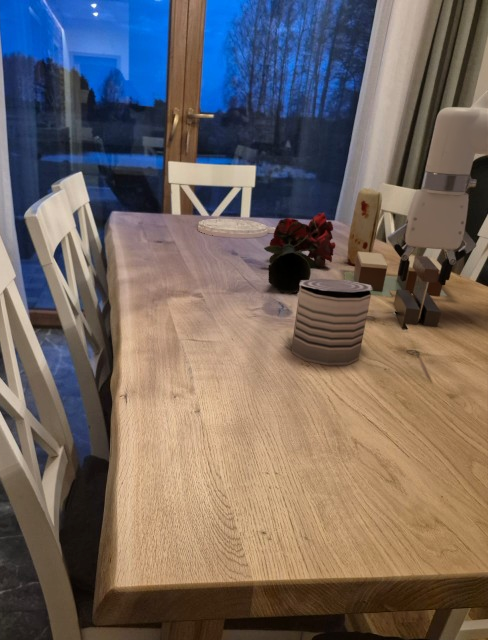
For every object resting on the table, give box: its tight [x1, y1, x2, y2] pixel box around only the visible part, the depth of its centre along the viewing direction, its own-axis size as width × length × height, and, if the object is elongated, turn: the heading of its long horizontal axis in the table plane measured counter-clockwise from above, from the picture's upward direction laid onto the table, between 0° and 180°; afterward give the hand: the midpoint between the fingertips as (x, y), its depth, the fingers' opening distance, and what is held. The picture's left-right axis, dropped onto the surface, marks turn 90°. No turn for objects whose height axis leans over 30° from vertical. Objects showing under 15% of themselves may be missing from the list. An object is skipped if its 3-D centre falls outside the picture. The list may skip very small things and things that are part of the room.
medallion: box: [197, 218, 276, 239], centre depth 194 cm, size 24×27×2 cm
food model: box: [347, 187, 383, 267], centre depth 151 cm, size 10×7×20 cm
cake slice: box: [353, 252, 389, 292], centre depth 135 cm, size 6×13×6 cm, turn 169°
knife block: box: [393, 289, 442, 330], centre depth 114 cm, size 14×6×4 cm, turn 169°
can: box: [291, 278, 373, 367], centre depth 93 cm, size 11×11×12 cm
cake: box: [396, 255, 443, 297], centre depth 133 cm, size 8×13×6 cm, turn 169°
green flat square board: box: [343, 271, 448, 298], centre depth 135 cm, size 22×20×1 cm
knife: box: [411, 255, 439, 323], centre depth 112 cm, size 12×2×11 cm, turn 169°
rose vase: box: [263, 212, 336, 294], centre depth 140 cm, size 16×18×35 cm
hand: (422, 280), depth 111 cm, fingers open, 6 cm apart
